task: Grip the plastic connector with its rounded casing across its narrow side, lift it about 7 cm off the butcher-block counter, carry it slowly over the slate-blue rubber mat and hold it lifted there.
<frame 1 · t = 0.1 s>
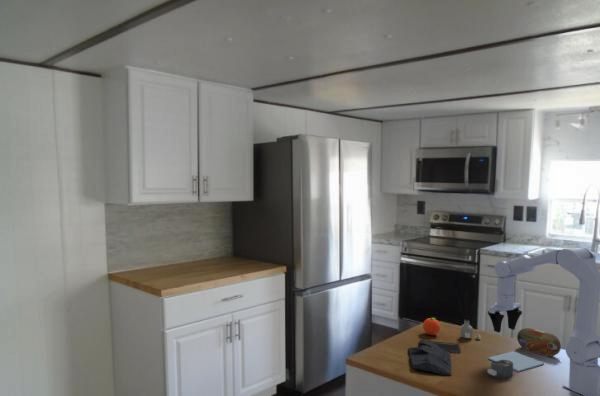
hand: (504, 330, 158), 10 cm above the counter, tool pointing down, fingers open, 7 cm apart
clementine: (431, 334, 181), on the counter
phone: (439, 348, 167), on the counter
connector: (501, 375, 143), on the counter
rubber mat: (515, 361, 154), on the counter
reed diffuser: (467, 337, 178), on the counter
dark slate chunk: (429, 363, 153), on the counter
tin: (538, 353, 163), on the counter
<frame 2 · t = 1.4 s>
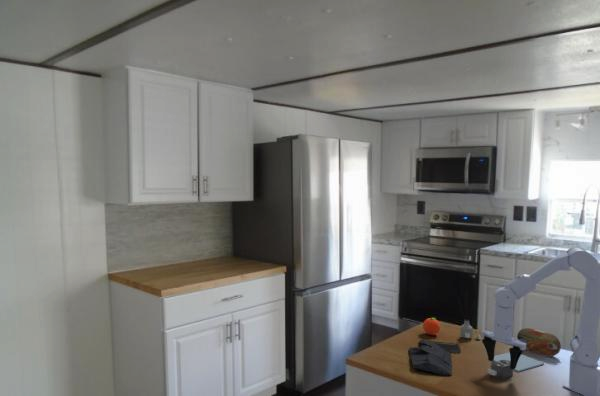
hand: (501, 364, 143), 4 cm above the counter, tool pointing down, fingers open, 7 cm apart
nothing on the counter moved.
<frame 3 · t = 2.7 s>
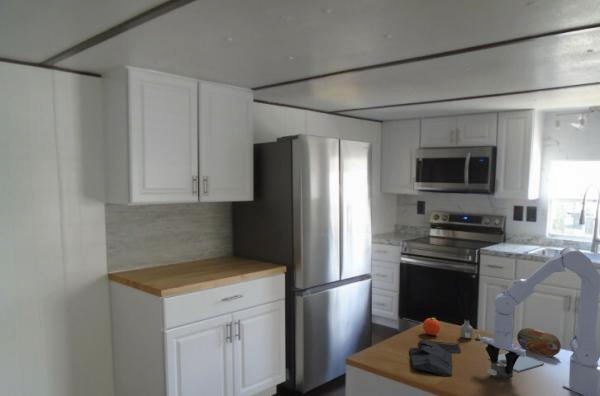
hand: (501, 370, 143), 1 cm above the counter, tool pointing down, fingers closed on connector, 4 cm apart
connector: (501, 375, 143), on the counter, touching gripper
everything else where it was.
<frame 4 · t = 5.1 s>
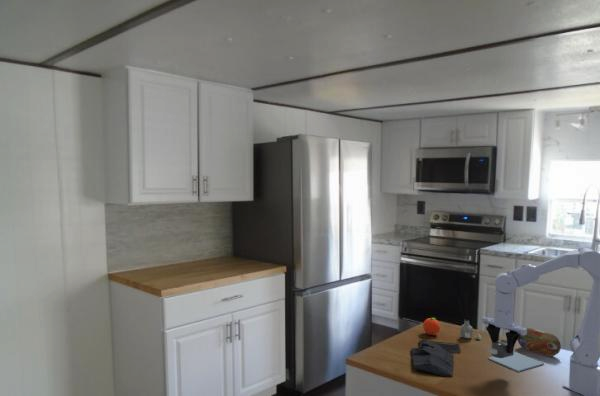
hand: (502, 350, 143), 8 cm above the counter, tool pointing down, fingers closed on connector, 4 cm apart
connector: (502, 354, 143), point 7 cm above the counter, touching gripper
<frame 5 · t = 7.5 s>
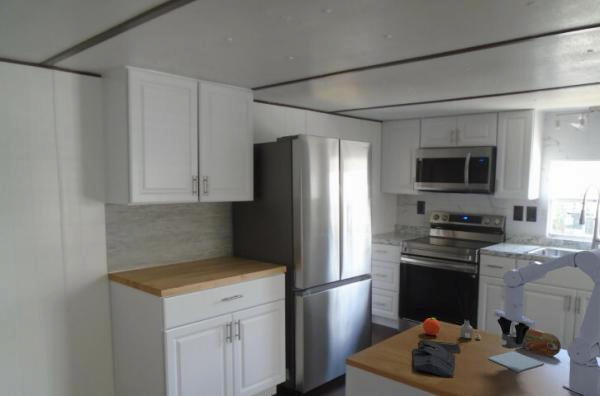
hand: (512, 341, 151), 8 cm above the counter, tool pointing down, fingers closed on connector, 4 cm apart
connector: (512, 345, 151), point 7 cm above the counter, touching gripper
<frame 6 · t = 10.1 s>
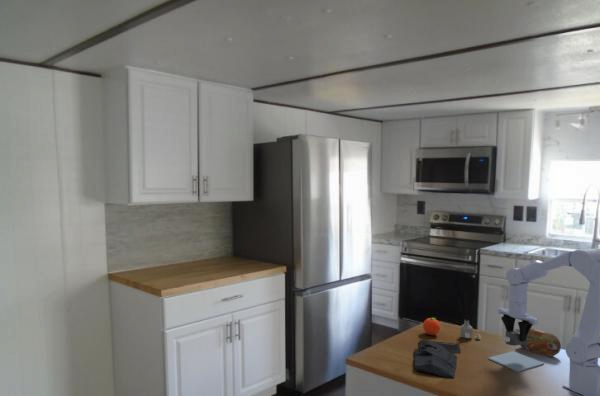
hand: (516, 338, 154), 8 cm above the counter, tool pointing down, fingers closed on connector, 4 cm apart
connector: (516, 342, 154), point 7 cm above the counter, touching gripper
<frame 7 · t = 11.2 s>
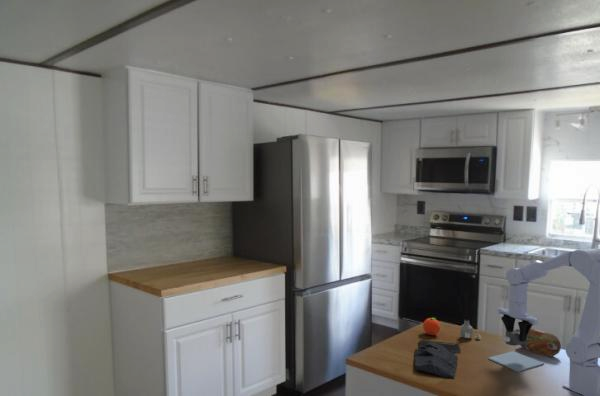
hand: (516, 338, 154), 8 cm above the counter, tool pointing down, fingers closed on connector, 4 cm apart
connector: (516, 342, 154), point 7 cm above the counter, touching gripper
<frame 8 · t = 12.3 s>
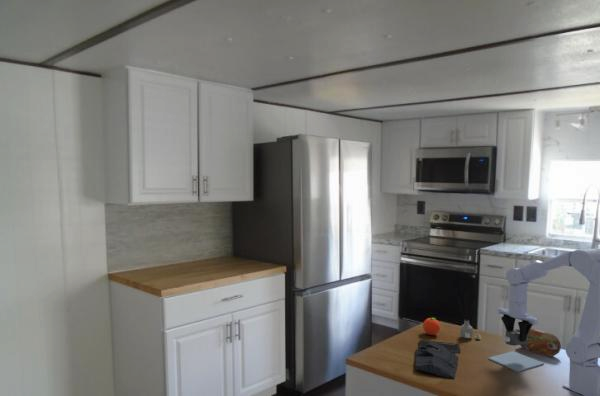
hand: (516, 338, 154), 8 cm above the counter, tool pointing down, fingers closed on connector, 4 cm apart
connector: (516, 342, 154), point 7 cm above the counter, touching gripper
at the end: the gripper is holding connector; connector point 7.0 cm above the counter; connector inside the target area (0.0 cm from its centre), point 7.0 cm above the counter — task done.
